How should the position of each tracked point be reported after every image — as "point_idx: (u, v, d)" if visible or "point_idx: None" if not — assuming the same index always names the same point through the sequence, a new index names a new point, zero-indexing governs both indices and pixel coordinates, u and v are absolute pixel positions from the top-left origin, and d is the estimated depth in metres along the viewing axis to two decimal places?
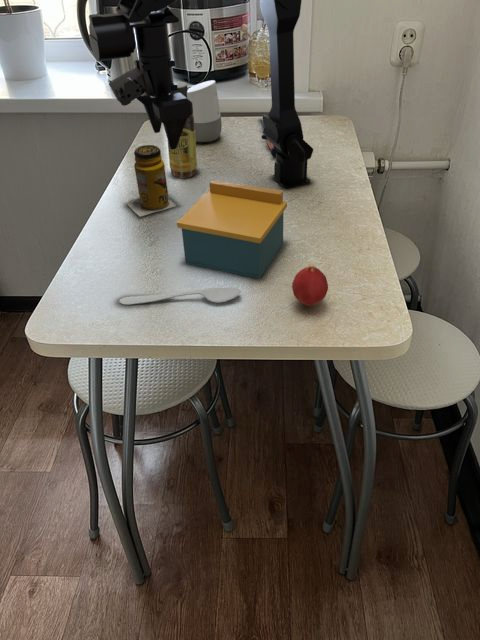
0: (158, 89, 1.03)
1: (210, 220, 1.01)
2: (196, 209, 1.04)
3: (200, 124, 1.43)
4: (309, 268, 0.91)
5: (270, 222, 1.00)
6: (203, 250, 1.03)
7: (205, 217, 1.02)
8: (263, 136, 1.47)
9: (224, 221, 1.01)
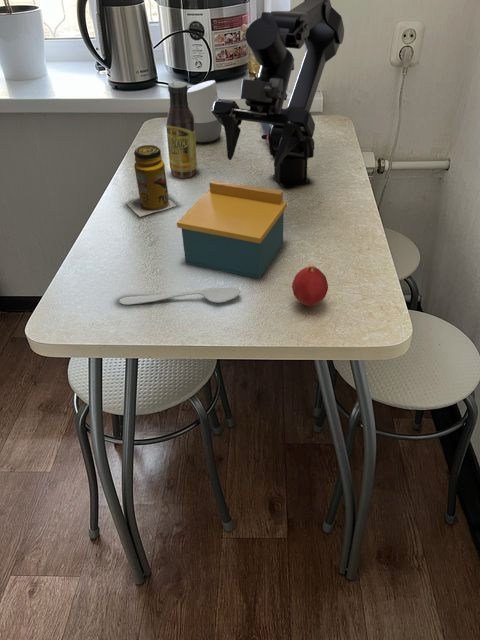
0: (278, 108, 1.05)
1: (210, 220, 1.01)
2: (196, 209, 1.04)
3: (200, 124, 1.43)
4: (309, 268, 0.91)
5: (270, 222, 1.00)
6: (203, 250, 1.03)
7: (205, 217, 1.02)
8: (263, 136, 1.47)
9: (224, 221, 1.01)
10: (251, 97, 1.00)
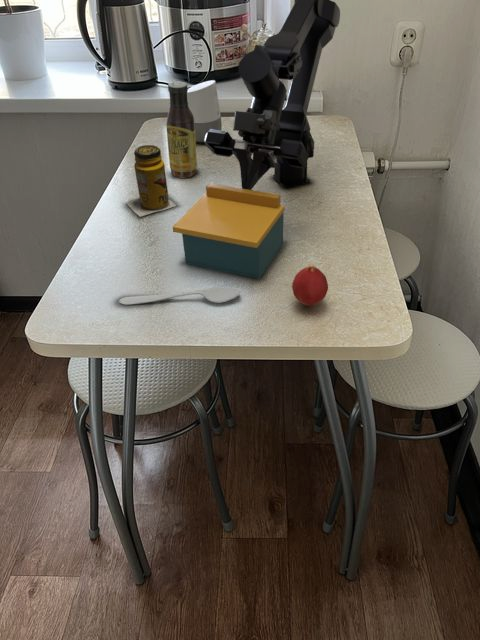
0: (271, 139, 1.05)
1: (206, 224, 1.00)
2: (192, 213, 1.03)
3: (200, 124, 1.43)
4: (309, 268, 0.91)
5: (267, 226, 0.99)
6: (203, 250, 1.03)
7: (201, 221, 1.01)
8: None
9: (220, 225, 1.00)
10: (244, 129, 0.99)
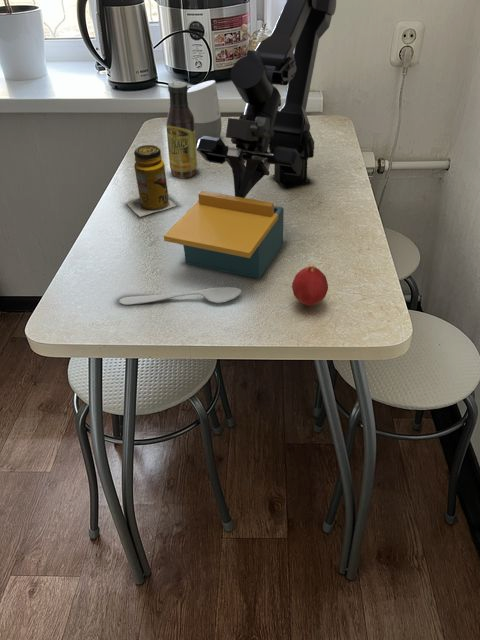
0: (264, 146, 1.03)
1: (198, 233, 0.98)
2: (184, 222, 1.01)
3: (200, 124, 1.43)
4: (309, 268, 0.91)
5: (260, 235, 0.97)
6: (203, 250, 1.03)
7: (193, 230, 0.99)
8: None
9: (213, 234, 0.97)
10: (237, 136, 0.97)
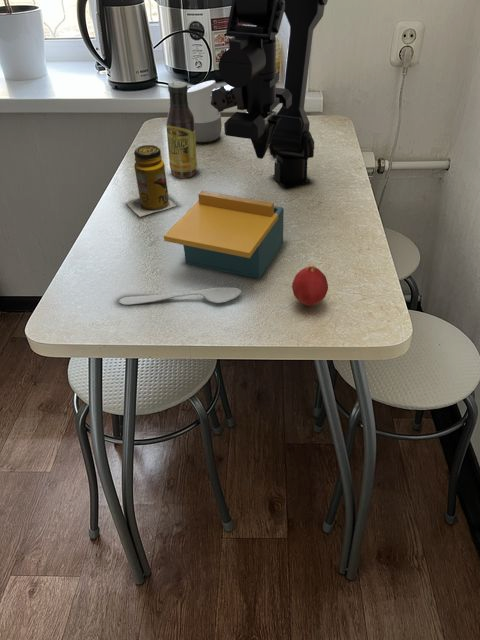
0: (249, 106, 1.01)
1: (198, 233, 0.98)
2: (184, 222, 1.01)
3: (200, 124, 1.43)
4: (309, 268, 0.91)
5: (260, 235, 0.97)
6: (203, 250, 1.03)
7: (193, 230, 0.99)
8: None
9: (213, 234, 0.97)
10: None
